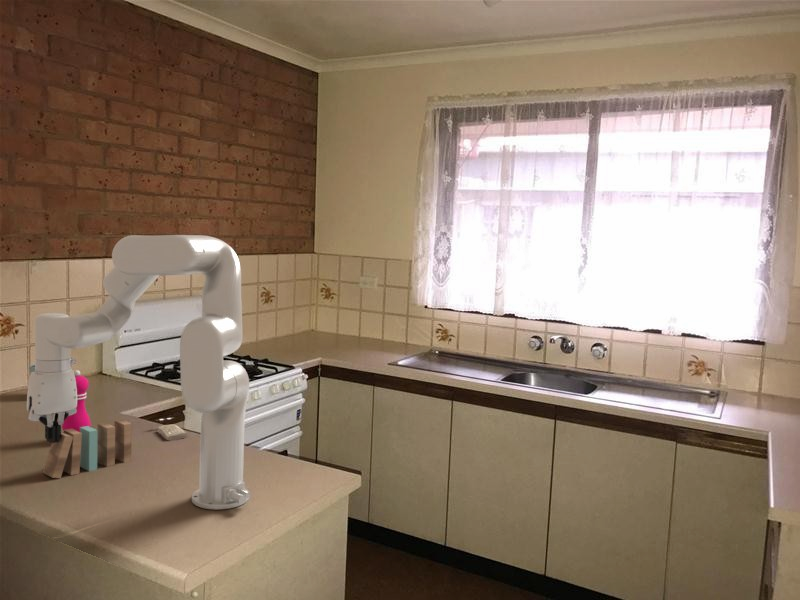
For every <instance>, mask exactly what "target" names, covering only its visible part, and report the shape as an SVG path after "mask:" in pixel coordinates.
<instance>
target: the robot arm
mask: <svg viewBox="0 0 800 600" xmlns="http://www.w3.org/2000/svg"><path fill="white" fill-rule="evenodd" d="M111 260H112V264H113V268H112V269H111V270H110V271H109V272H108V273H107V274H106V275H105V276H104V278H103V281H102V285H103V289H104V291H106V293H107V294H108V298H107V299H106V300H105V301H104V302H103V304H101V306H100V307H99V308H98V309H97V310H96V311H95V312H92V313H90V312H89V313H84V314H78V315H72V316H70V315H68V314H66V313H62V312H47V313H45V312H44V313H40V314H38V315H37V316H36V317H35V320H34V364H35V372H31V374H30V375H29V380H28V387H27V396H26V411H27V412H28V418H27V419H28V420H29V421H31V422H40V423H41V424H42V425H43V426H44V438H45V440H46V441H47V442H49V443H50V444H52V443H55V442H59V441H60V437H61V432H62V424H63V422H64V420H65V419H66V418H67V417H68V416H70V415H73V414H75V413H76V412H77V410H76V407H77V387H76V380H75V375H74V371H75V370H73V369H72V368H73V367H72V366H73V365H75V364H77V358H73V357H72V350H76V349H82V348H86V347H91V346H95V345H99V344H102V343H103V344H104V343H105V342H108V341H110V339H112V338H113V337H114V336H115V335H116V334H117V333H118V332H119V331H120V330H121V329H122V328H123V327H124V326H125V325H126V324H127V323H128V322H129V320H130V319H131V317H132V315H133V311H134V310H135V305H136V302H137V301H138V299H139V298H140V297H141V296H142V295H143V294H144V293H145V291H146V290H148V289H149V287H150V286H151V285H152V284H153V283H154V282H156V280H157V279H158V278H159V277H160V276H187V275H188V276H189V275H198V274H201V275H204V278H205V279H204V283H203V286H202V289H201V316H199V317H196V318H194V319H192V320H190V322H188V323H187V324H186V325H185V326H184V328H183V331H182V332H181V335H180V340H179V363H180V364H179V366H180V367H179V368H180V390H181V395H182V399H183V401H184V403H185V405H186V406H187V407H188V408H189V409H190V410H191V411H193V412H195V413H197V414H201V419H200V434H199V435H200V437H199V438H200V440H199V481H198V482H199V483H198V484H199V485H198V486H199V487H198V489H197V490H195V491H193V493H192V494H191V502H192V504H193V505H195V506H197V507H199V508H201V509H204V510H205V509H206V510H215V511H217V510H228V509H229V510H230V509H234V508H237V507H240V506H242V505H244V504H246V503H247V502H248V501H249V499H250V497H251V494H252V493H251V492H250V491H249V490H248V489H247V488H246V482H245V481H244V454H245V453H244V451H245V449H244V448H245V426H246V425H245V420H246V412H247V411H246V409H247V403H248V398H249V397H248V396H249V391H250V378H249V375H248V372H247V371H246V368H244V366H243V365H242V364H240V363H239V362H237V361H234V360H229V359H228V360H227V359H226V360H224V357H226V356H228V355H229V356H230V355H231V354H233V353H235V352H237V351H238V349H240V347H241V345H242V343H243V339H244V338H243V337H244V336H243V332H244V331H243V304H242V303H243V301H242V269H241V268H242V267H241V263H240V259H239V257H238V255H237V252H236V251H235V250H234V248H233V247H231V246H230V245H229V244H228V243H227V242H225V241H223V240H222V239H220V238H217V237H214V236H210V235H202V234H199V235H198V234H195V235H194V234H169V235H168V234H166V235H164V234H163V235H161V234H160V235H140V234H139V235H138V234H134V235H133V234H132V235H127V236H124V237H123V238H121V239H119V240H118V241H117V243H116V244H115V245H114V246H113V249H112V252H111Z"/></svg>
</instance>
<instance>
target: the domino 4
mask: <svg viewBox="0 0 800 600" xmlns="http://www.w3.org/2000/svg"><path fill="white" fill-rule="evenodd" d="M97 430H98V435H97V464H100V465H102V466H105V467H106V468H109V467H112V466H115V464H116V462H115V461H116V459H115V426H114V425H112V424H110V423H107V422H100V423H97Z"/></svg>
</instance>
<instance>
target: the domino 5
mask: <svg viewBox="0 0 800 600" xmlns="http://www.w3.org/2000/svg"><path fill="white" fill-rule="evenodd" d="M113 423H114V425H113V426H115V460H118V461H120V462H121V463H128V462H131V461H132V442H133V441H132V438H133V437H132V436H133V434H132V433H133V430H132V429H133V427H132V426H133V424H132V423H131V422H129V421H126V420H124V419H117V420H116V419H115V420H114V421H113Z"/></svg>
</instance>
